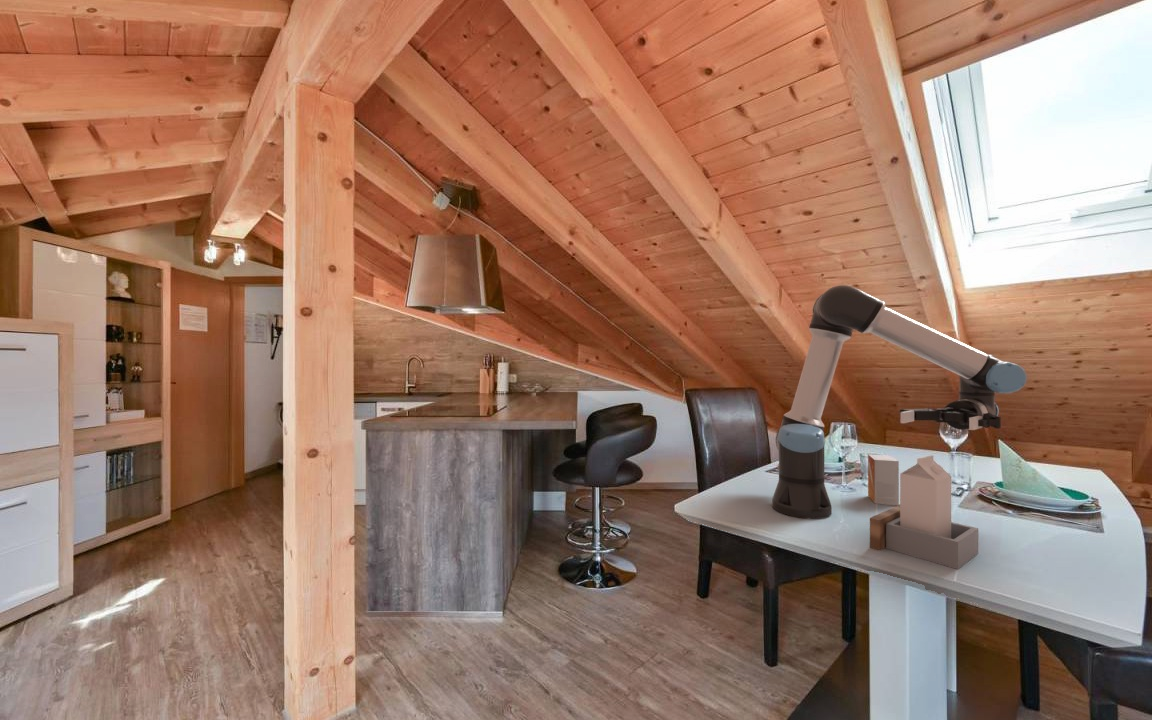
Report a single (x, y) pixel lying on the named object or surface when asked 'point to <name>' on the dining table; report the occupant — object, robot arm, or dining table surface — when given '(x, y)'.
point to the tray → (934, 543)
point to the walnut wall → (881, 527)
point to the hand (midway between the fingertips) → (935, 420)
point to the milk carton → (926, 498)
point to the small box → (883, 479)
